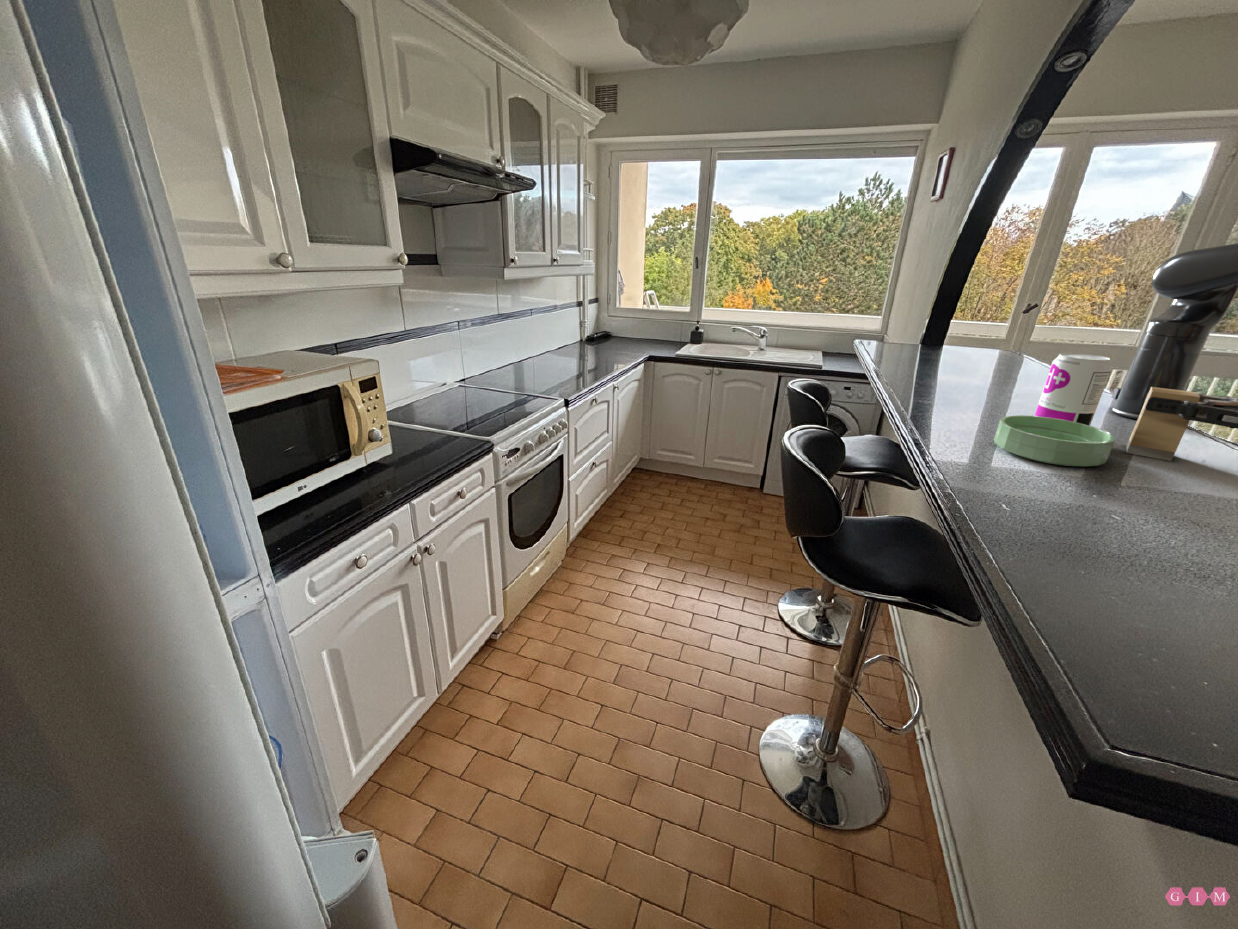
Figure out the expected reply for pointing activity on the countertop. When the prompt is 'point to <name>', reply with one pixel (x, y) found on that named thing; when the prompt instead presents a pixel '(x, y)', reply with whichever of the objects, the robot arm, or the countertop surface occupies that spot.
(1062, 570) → the countertop surface
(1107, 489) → the countertop surface
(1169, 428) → the light brown wooden block
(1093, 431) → the bowl
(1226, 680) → the countertop surface
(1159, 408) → the robot arm
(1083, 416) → the supplement can
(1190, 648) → the countertop surface
